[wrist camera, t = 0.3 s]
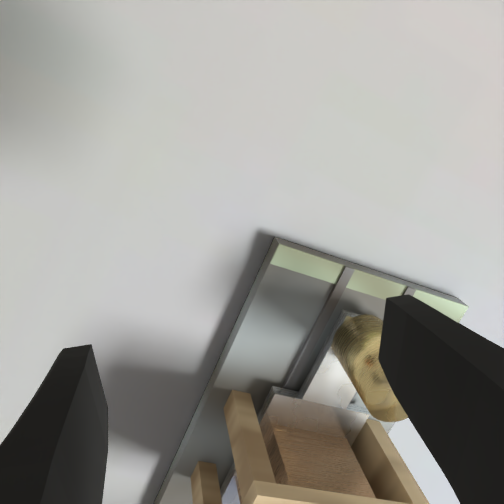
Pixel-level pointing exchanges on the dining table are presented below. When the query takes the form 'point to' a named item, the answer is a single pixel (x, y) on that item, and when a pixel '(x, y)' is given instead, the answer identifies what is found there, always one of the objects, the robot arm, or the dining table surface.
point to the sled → (326, 414)
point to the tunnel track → (289, 382)
